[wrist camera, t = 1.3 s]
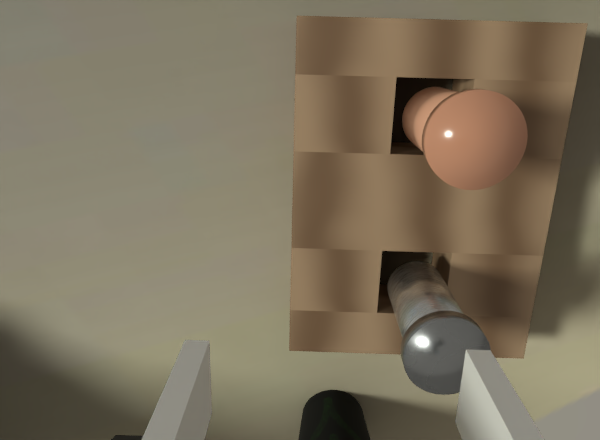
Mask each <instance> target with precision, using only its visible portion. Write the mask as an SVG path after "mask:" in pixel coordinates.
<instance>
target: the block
mask: <svg viewBox="0 0 600 440" xmlns="http://www.w3.org/2000/svg"><path fill="white" fill-rule="evenodd" d="M587 25H588V23H550V22H512V21H474V20H437V19H399V18H361V17H323V16H297V25H296V71H295V116H294V161H293V206H292V251H291V297H290V342H289V351H316V352H346V353H376V354H401V352H400V350H401V342H402V339H403V338H402V335H401V332H400V329H399V326H398V323H397V320H396V317H395V314H394V311H393V307H392V304H391V301H390V298H389V295H388V291H387V285H388V284H379V283H380V271H381V259H382V251H405V252H433V256H432V266H434V267H435V268H436V269H437V270H438V271H439V273H440V275H441V276H442V278H443V280H444V281H445V283H446V285H447V286H448V288H449V290H450V291H451V293H452V295H453V297H454V298H455V300H456V302H457V303H458V305H459V307H460V308H461V310H462V312H463V314H465V315H467V316H469V317H470V318H471V319H473V320H474V321H475V322H476V323H477V324H478V325H479V327H480V328H481V330H482V331H483V333H484V335H485V336H486V338H487V340H488V342H489V344H490V349H491V352H492V354H493V355H494V357H496V358H524V354H525V348H526V343H527V338H528V333H529V327H530V322H531V317H532V312H533V307H534V301H535V296H536V291H537V286H538V280H539V275H540V270H541V265H542V260H543V254H544V249H545V244H546V239H547V233H548V228H549V223H550V218H551V213H552V207H553V202H554V197H555V192H556V186H557V181H558V176H559V171H560V166H561V160H562V155H563V150H564V145H565V139H566V134H567V129H568V124H569V119H570V113H571V108H572V103H573V98H574V92H575V87H576V82H577V77H578V72H579V66H580V61H581V56H582V51H583V45H584V40H585V35H586V30H587ZM397 77H410V78H447V79H453V85H452V90H454V91H458V92H459V91H462V90H466V89H485V90H490V91H494V92H498V93H500V94H503V95H504V96H506V97H508V98H509V99H511V100H512V101H513V102H514V103H515V104H516V105H517V106H518V107H519V109H520V110H521V112H522V114H523V116H524V118H525V121H526V125H527V134H528V137H527V145H526V149H525V152H524V155H523V157H522V159H521V161H520V163H519V164H518V166H517V167H516V168H515V169H514V171H513V172H512V173H511V174H510V175H509V176H508V177H506V178H505V179H504V180H502V181H501V182H499V183H497V184H495V185H493V186H491V187H488V188H484V189H479V190H463V189H459V188H456V187H453V186H451V185H449V184H447V183H445V182H444V181H443V180H441V179H440V178H439V177H438V176H437V175H436V174H435V173H434V172H433V171H432V170H431V168H430V167H429V166H428V164H427V162H426V160H425V157H424V154H423V152H422V151H421V150H420V149H419V148H418V147H417V146H415V145H414V144H413V143H404V142H391V138H392V126H393V114H394V102H395V90H396V78H397Z"/></svg>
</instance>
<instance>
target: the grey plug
mask: <svg viewBox="0 0 600 440" xmlns="http://www.w3.org/2000/svg"><path fill="white" fill-rule="evenodd" d="M387 291H388V295H389V298H390V301H391V304H392V307H393V311H394V314H395V317H396V320H397V323H398V326H399V329H400V332H401V335H402V338H403V339H402V342H401V350H400V352H401V358H402V361H403V364H404V368H405V371H406V373H407V375H408V377H409V378H410V380H411V381H412V382H413V383H414V384H415V385H416V386H418V387H419V388H421V389H423V390H425V391H427V392H430V393H434V394H454V393H458V392H460V386H461V379H462V373H463V366H464V359H465V353H466V349H468V350H491V349H490V344H489V342H488V340H487V338H486V336H485V335H484V333H483V331H482V330H481V328H480V327H479V325H478V324H477V323H476V322H475V321H474V320H473V319H471V318H470V317H469V316H467V315H465V314H463V312H462V310H461V308H460V307H459V305H458V303H457V302H456V300H455V298H454V297H453V295H452V293H451V291H450V290H449V288H448V286H447V285H446V283H445V281H444V280H443V278H442V276H441V275H440V273H439V271H438V270H437V269H436V268H435V267H434V266H432V265H431V264H429V263H426V262H422V261H412V262H408V263H405V264H403V265H401V266H399V267H398V268H397V269H396V270H394V272H393V273H392V274H391V276H390V278H389V280H388V285H387Z"/></svg>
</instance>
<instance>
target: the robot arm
mask: <svg viewBox="0 0 600 440" xmlns="http://www.w3.org/2000/svg"><path fill="white" fill-rule="evenodd" d="M211 415H212V403H211V374H210V345H209V341H203V340H185V341H184V344H183V346H182V348H181V350H180V353H179V355H178V357H177V360H176V362H175V364H174V366H173V369H172V371H171V373H170V376H169V378H168V380H167V382H166V385H165V387H164V389H163V392H162V394H161V396H160V398H159V401H158V403H157V405H156V408H155V410H154V412H153V414H152V417H151V419H150V421H149V424H148V426H147V428H146V430H145V433H144V435H143V436H126V435H116V436H115V437H114V438H112V439H111V440H205V436H206V433H207V429H208V426H209V422H210V418H211ZM455 423H456V425H457V428H458V431H459V433H460V436H461V438H462V440H545V439H544V438H543V436H542V434H541V433H540V431H539V430H538V428H537V426H536V424H535V423H534V421H533V419H532V418H531V416H530V415H529V413H528V411H527V410H526V408H525V406H524V405H523V403H522V401H521V400H520V398H519V396H518V395H517V393H516V391H515V390H514V388H513V387H512V385H511V383H510V382H509V380H508V378H507V377H506V375H505V373H504V372H503V370H502V368H501V367H500V365H499V363H498V362H497V360H496V358H495V357H494V355H493V354H492V352H491V350H468V349H466V353H465V359H464V366H463V373H462V379H461V386H460V393H459V399H458V406H457V413H456V419H455Z"/></svg>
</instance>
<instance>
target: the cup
mask: <svg viewBox="0 0 600 440" xmlns="http://www.w3.org/2000/svg"><path fill="white" fill-rule="evenodd" d="M299 440H370V437H369V433H368V430H367V426H366V423H365V419H364V415H363V412H362V409H361V406H360V404H359V403H358V401H357V400H356V399H355V398H354V397H352V396H351V395H350V394H347V393H345V392H342V391H338V390H328V391H322V392H320V393H318V394H316V395H314V396H313V397H311V398H310V399H309V400H308V402H307V403H306V404H305V407H304V409H303V415H302V421H301V428H300V434H299Z"/></svg>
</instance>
